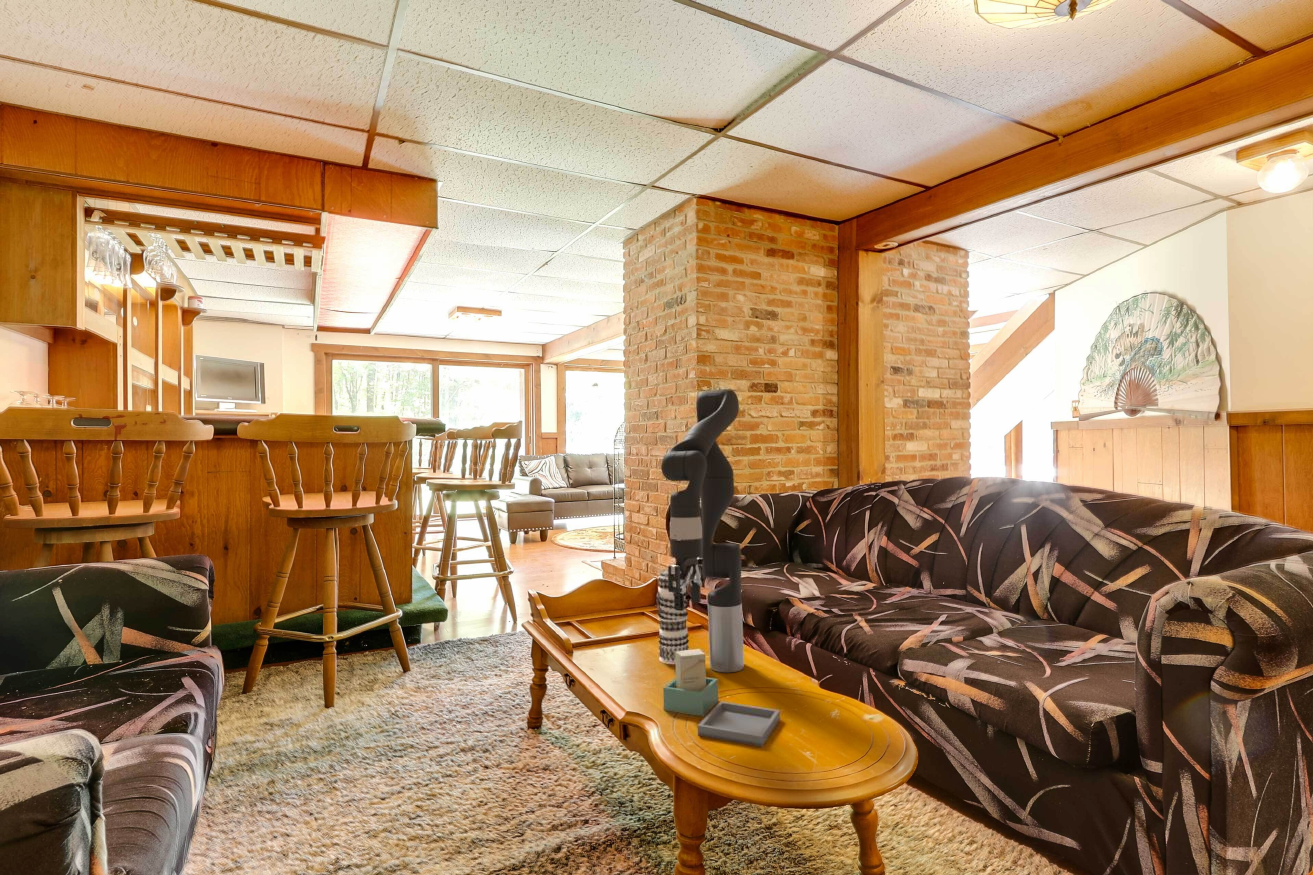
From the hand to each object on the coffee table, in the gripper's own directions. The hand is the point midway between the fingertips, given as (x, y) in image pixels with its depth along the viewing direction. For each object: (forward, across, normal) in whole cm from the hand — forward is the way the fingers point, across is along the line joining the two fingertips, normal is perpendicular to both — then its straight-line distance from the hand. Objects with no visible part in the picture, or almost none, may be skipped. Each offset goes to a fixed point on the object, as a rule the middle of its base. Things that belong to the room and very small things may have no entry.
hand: (687, 606), depth 146 cm
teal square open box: (+22, 0, 0) cm, 23 cm away
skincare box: (+23, 0, 0) cm, 23 cm away
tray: (+23, +6, +14) cm, 28 cm away
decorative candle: (+22, -27, -19) cm, 39 cm away
